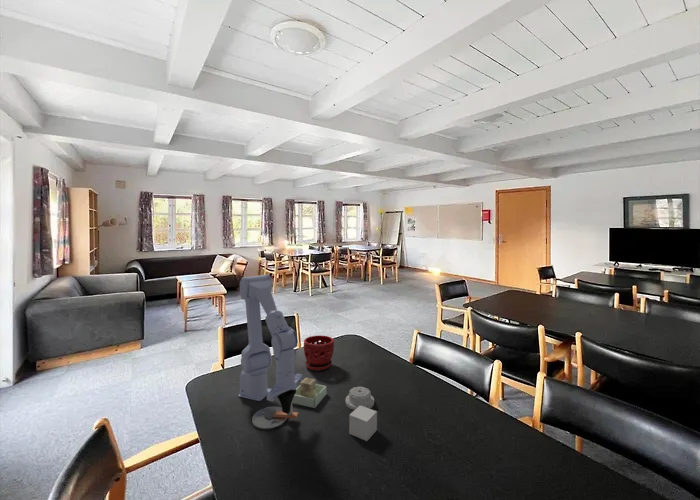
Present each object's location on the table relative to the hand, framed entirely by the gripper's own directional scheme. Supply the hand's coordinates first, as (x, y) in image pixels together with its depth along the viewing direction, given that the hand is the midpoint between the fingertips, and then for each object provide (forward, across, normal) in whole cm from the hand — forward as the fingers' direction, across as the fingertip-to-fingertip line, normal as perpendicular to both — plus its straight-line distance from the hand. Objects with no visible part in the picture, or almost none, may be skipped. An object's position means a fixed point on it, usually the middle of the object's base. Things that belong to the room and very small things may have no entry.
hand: (286, 412), depth 99 cm
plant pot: (+3, +39, +14) cm, 41 cm away
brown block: (+3, +15, +2) cm, 15 cm away
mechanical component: (+4, +21, -15) cm, 26 cm away
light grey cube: (+4, +8, -23) cm, 24 cm away
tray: (+3, +15, +2) cm, 16 cm away
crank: (+3, +1, +3) cm, 4 cm away
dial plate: (+4, 0, +6) cm, 7 cm away
